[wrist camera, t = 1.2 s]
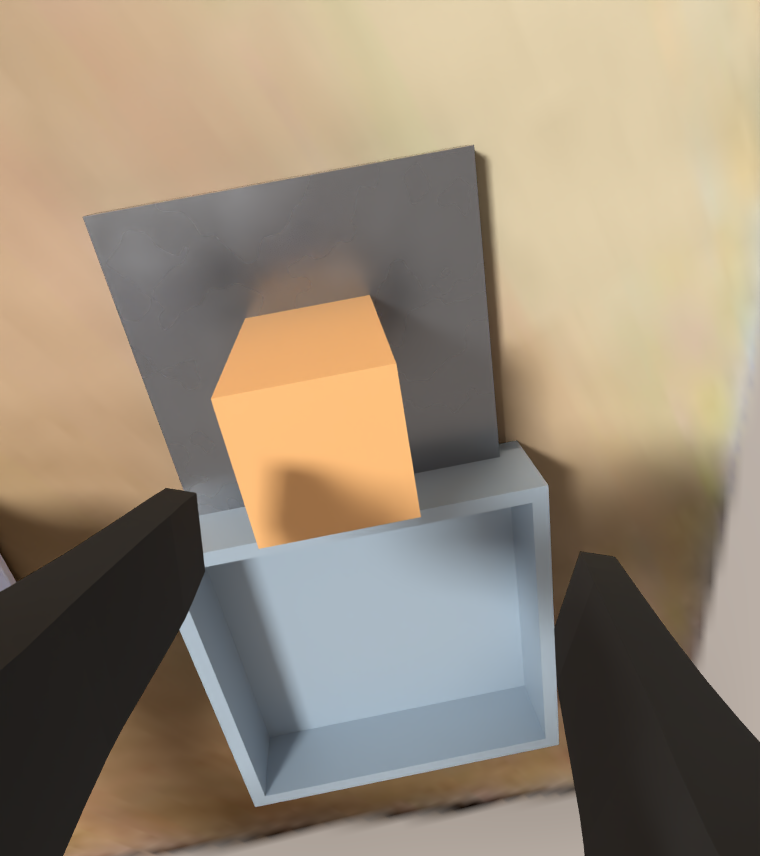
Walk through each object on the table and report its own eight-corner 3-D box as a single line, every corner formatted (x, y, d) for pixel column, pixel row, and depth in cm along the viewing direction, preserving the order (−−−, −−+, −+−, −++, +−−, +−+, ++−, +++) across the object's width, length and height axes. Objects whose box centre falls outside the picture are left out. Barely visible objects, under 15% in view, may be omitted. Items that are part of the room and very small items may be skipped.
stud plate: (205, 522, 24) (175, 623, 18) (94, 213, 18) (9, 236, 13) (494, 466, 24) (542, 550, 19) (466, 145, 19) (522, 142, 13)
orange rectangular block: (275, 430, 21) (258, 548, 15) (245, 318, 19) (210, 399, 13) (389, 408, 21) (421, 517, 15) (369, 294, 19) (396, 363, 13)
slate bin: (261, 736, 29) (255, 807, 26) (173, 507, 23) (151, 563, 20) (533, 681, 29) (558, 744, 26) (516, 440, 23) (548, 485, 20)
